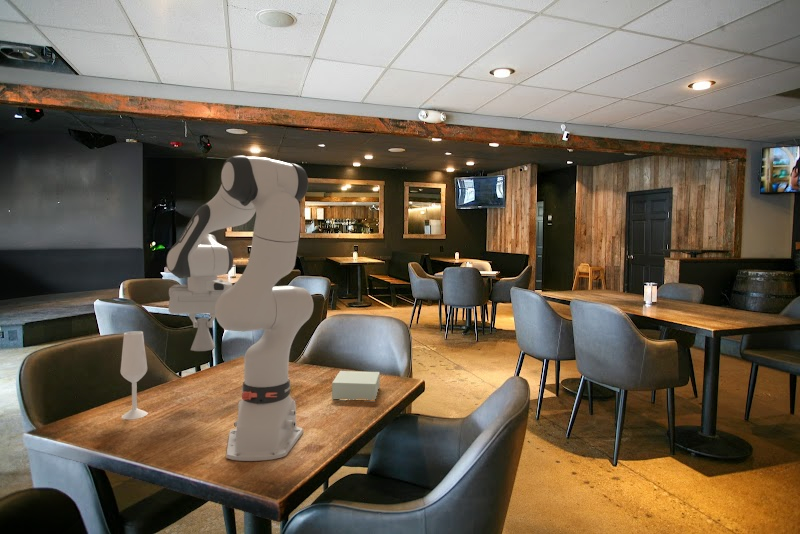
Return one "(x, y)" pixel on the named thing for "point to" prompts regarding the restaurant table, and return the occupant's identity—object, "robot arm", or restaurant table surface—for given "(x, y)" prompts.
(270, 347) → the robot arm
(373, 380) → the sage block
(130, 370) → the champagne flute
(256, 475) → the restaurant table surface
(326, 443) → the restaurant table surface
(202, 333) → the flask
